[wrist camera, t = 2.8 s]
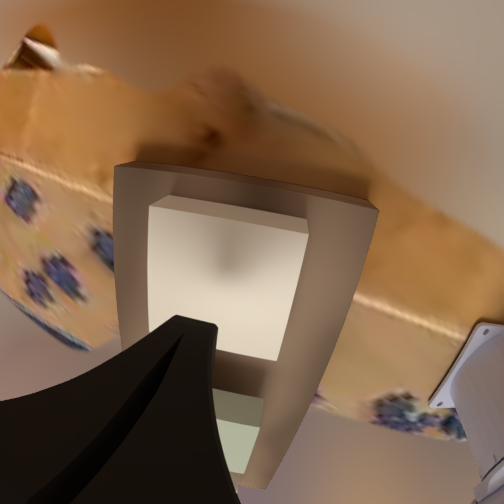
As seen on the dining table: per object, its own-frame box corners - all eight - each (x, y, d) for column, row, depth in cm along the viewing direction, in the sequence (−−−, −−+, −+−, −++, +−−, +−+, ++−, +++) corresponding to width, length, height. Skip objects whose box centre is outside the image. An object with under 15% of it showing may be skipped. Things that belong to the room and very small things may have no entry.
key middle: (264, 398, 15) (260, 427, 13) (248, 450, 17) (243, 473, 15) (156, 373, 15) (143, 398, 13) (162, 429, 18) (153, 451, 16)
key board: (368, 200, 14) (379, 210, 12) (267, 473, 24) (265, 489, 22) (134, 161, 15) (114, 165, 13) (151, 446, 25) (145, 461, 23)
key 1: (306, 219, 12) (308, 234, 11) (279, 334, 15) (276, 361, 13) (168, 194, 13) (149, 205, 11) (164, 309, 15) (149, 331, 13)
